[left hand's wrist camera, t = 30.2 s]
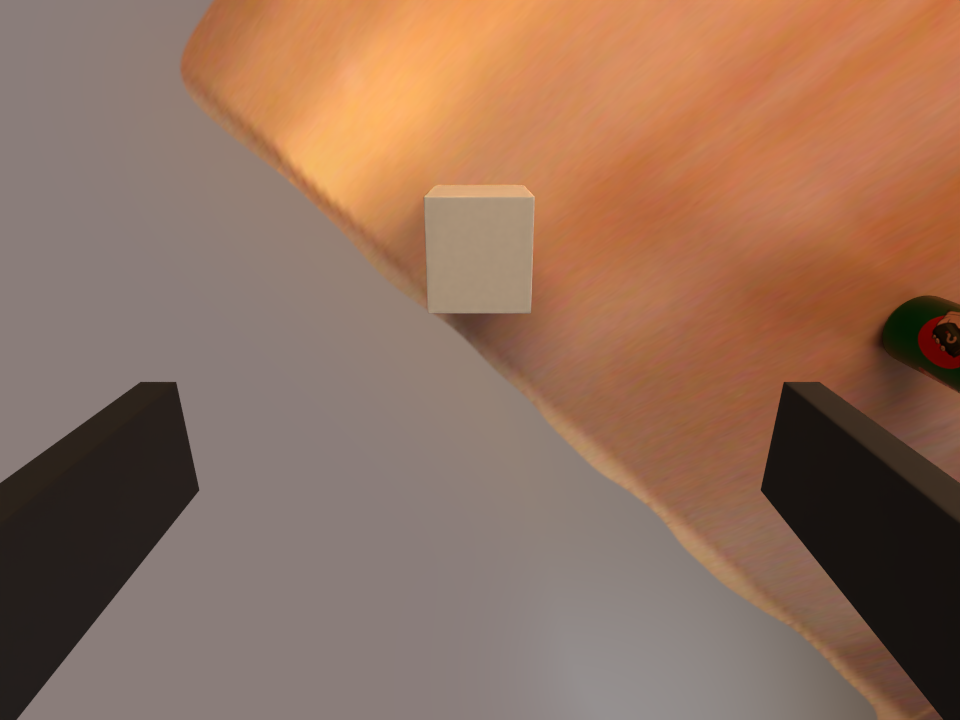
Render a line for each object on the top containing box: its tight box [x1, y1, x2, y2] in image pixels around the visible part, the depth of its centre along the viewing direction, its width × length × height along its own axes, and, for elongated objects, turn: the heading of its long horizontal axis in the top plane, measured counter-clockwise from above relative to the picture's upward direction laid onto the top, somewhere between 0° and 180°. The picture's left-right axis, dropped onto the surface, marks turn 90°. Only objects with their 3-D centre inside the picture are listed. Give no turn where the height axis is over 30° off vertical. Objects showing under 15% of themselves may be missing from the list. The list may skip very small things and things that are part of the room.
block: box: [424, 185, 535, 313], centre depth 36 cm, size 6×7×8 cm
